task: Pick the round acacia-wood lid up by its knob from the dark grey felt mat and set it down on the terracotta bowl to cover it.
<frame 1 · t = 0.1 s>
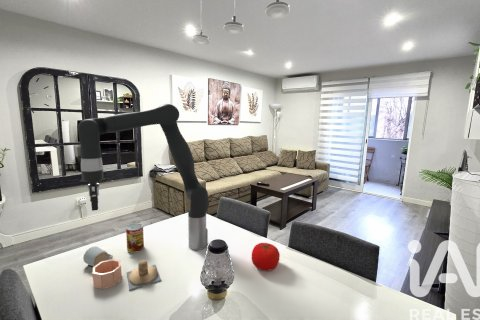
hand: (95, 206, 99), 29 cm above the table, fingers open, 8 cm apart
canned food: (135, 248, 122), on the table
mat: (143, 277, 100), on the table
lid: (143, 275, 100), point 1 cm above the table, touching mat
tomato: (264, 266, 110), on the table
bowl: (108, 279, 98), on the table
ceramic mug: (99, 263, 109), on the table
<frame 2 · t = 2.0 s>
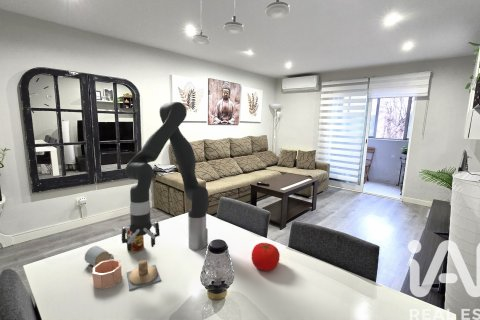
hand: (141, 248, 98), 13 cm above the table, fingers open, 8 cm apart
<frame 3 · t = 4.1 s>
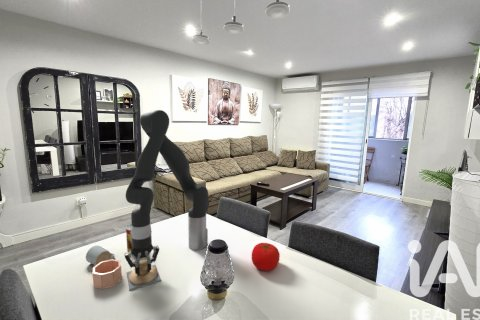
hand: (143, 272, 100), 2 cm above the table, fingers closed on lid, 3 cm apart
lid: (143, 275, 100), point 1 cm above the table, touching gripper, mat
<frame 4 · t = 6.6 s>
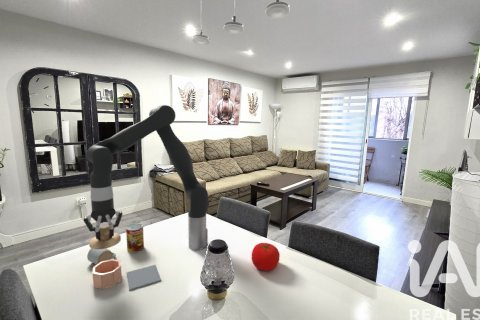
hand: (105, 238, 95), 18 cm above the table, fingers closed on lid, 3 cm apart
lid: (105, 242, 95), point 17 cm above the table, touching gripper
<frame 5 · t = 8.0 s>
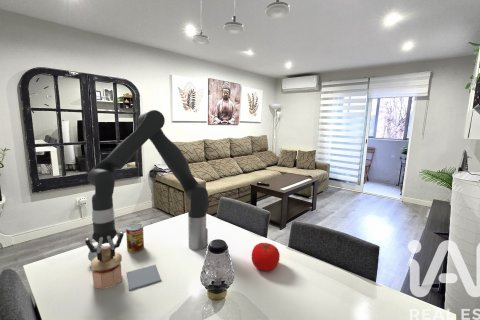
hand: (106, 258, 96), 10 cm above the table, fingers closed on lid, 3 cm apart
lid: (106, 262, 96), point 8 cm above the table, touching gripper
when the fingers open (9 cm above the table, at t = 9.0 s): lid stays where it is, resting on bowl.
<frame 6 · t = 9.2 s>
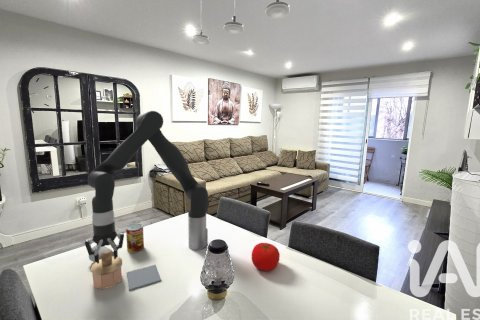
hand: (106, 260, 96), 9 cm above the table, fingers open, 5 cm apart
lid: (107, 266, 97), point 6 cm above the table, touching bowl
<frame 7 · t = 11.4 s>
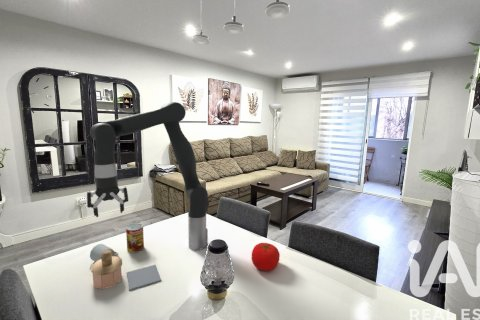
hand: (109, 214, 95), 28 cm above the table, fingers open, 8 cm apart
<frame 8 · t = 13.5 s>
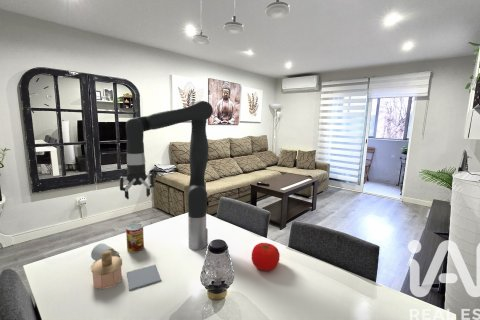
hand: (137, 197, 109), 30 cm above the table, fingers open, 8 cm apart
at the end: lid 0.1 cm off-centre on the bowl, point 6.0 cm above the bowl's base; lid tilted 0°; the gripper is holding nothing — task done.
